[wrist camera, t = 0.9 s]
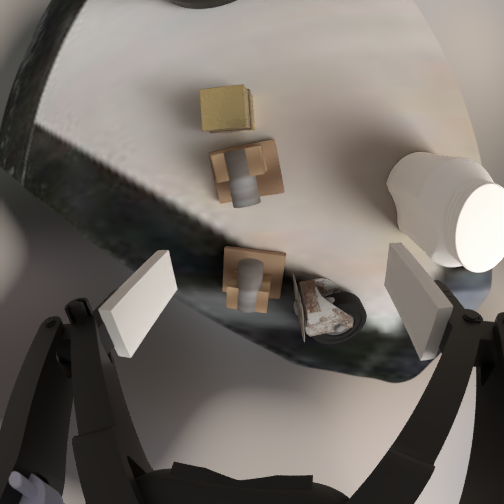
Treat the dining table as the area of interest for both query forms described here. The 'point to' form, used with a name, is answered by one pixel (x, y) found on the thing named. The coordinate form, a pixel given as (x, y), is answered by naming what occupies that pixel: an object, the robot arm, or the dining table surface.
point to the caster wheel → (327, 311)
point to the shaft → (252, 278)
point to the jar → (449, 209)
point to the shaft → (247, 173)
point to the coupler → (227, 109)
